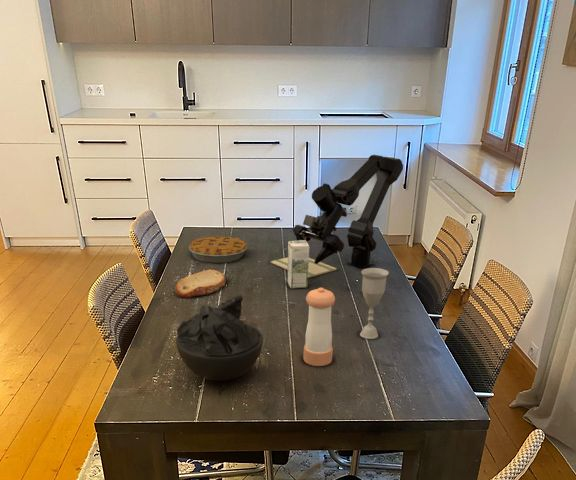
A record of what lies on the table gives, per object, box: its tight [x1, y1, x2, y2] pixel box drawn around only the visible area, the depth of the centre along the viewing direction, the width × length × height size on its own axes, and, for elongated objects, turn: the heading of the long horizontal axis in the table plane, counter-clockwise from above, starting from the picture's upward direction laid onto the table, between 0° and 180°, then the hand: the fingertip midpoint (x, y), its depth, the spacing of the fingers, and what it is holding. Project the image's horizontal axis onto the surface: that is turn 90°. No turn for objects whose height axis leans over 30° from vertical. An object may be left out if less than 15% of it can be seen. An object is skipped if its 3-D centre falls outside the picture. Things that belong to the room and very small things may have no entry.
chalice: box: [359, 267, 390, 340], centre depth 157 cm, size 7×7×18 cm
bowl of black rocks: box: [175, 294, 264, 382], centre depth 136 cm, size 20×20×19 cm
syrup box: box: [286, 240, 310, 289], centre depth 190 cm, size 6×6×14 cm
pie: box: [188, 235, 248, 264], centre depth 218 cm, size 22×22×5 cm
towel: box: [270, 256, 338, 279], centre depth 210 cm, size 14×20×1 cm
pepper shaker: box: [302, 287, 336, 367], centre depth 144 cm, size 7×7×19 cm
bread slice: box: [174, 269, 227, 299], centre depth 190 cm, size 18×18×4 cm
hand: (304, 259), depth 190 cm, fingers open, 9 cm apart
